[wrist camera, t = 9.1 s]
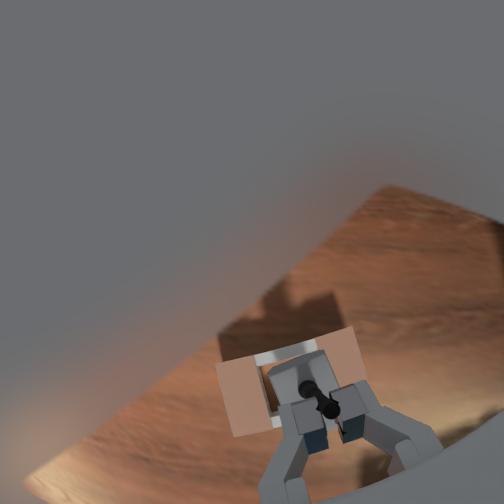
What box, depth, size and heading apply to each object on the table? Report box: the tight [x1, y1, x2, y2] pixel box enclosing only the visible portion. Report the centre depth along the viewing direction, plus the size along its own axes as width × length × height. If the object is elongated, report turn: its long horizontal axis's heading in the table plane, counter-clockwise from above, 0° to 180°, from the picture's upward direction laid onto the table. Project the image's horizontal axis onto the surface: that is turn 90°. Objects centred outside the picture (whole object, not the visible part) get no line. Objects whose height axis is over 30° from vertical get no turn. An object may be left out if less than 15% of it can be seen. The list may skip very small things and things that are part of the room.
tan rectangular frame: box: [215, 326, 370, 437], centre depth 36 cm, size 18×10×6 cm, turn 104°
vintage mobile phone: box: [267, 349, 341, 431], centre depth 20 cm, size 4×5×25 cm
